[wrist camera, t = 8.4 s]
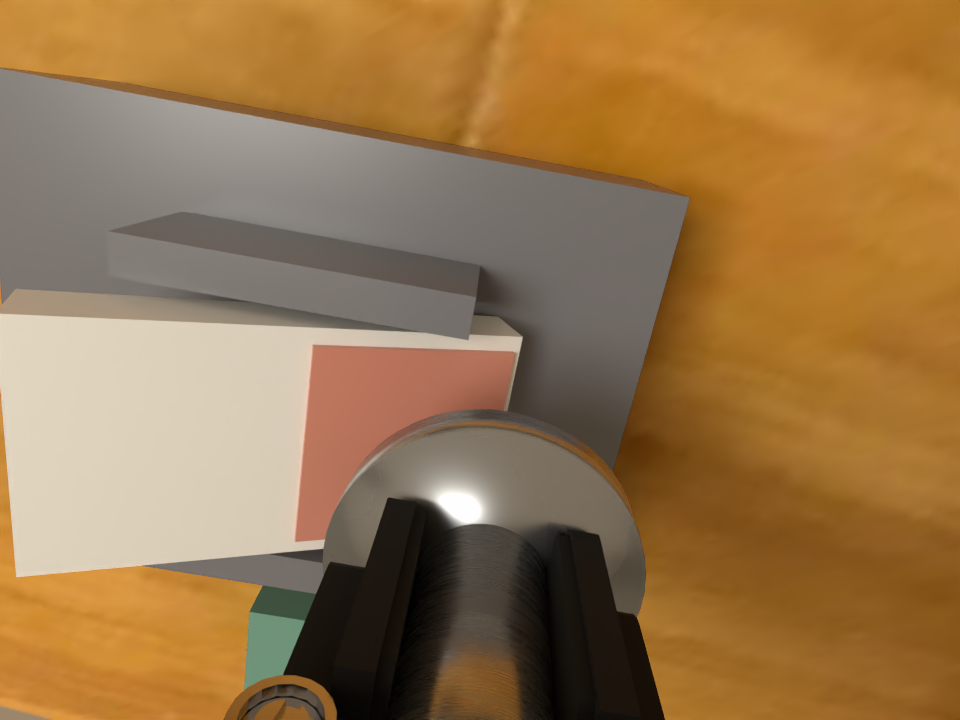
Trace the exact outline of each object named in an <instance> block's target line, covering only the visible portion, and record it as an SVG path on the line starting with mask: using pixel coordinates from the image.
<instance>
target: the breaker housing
mask: <svg viewBox="0 0 960 720" xmlns="http://www.w3.org/2000/svg"><path fill="white" fill-rule="evenodd" d="M689 199H690V197H687V196H684V195H681V194H679V193H676V192H673V191H670V190H668V189H665V188H662V187H659V186H657V185H654V184H651V183H648V182H645V181H643V180H639V179H633V178H628V177H623V176H617V175H612V174H607V173H601V172H596V171H591V170H585V169H580V168H575V167H569V166H564V165H559V164H553V163H548V162H543V161H537V160H532V159H527V158H521V157H516V156H511V155H505V154H500V153H495V152H489V151H484V150H479V149H473V148H468V147H463V146H457V145H452V144H447V143H441V142H436V141H431V140H425V139H420V138H415V137H409V136H404V135H399V134H393V133H388V132H383V131H378V130H372V129H367V128H362V127H356V126H351V125H346V124H340V123H335V122H330V121H324V120H319V119H314V118H308V117H303V116H298V115H292V114H287V113H282V112H276V111H271V110H266V109H260V108H255V107H250V106H244V105H239V104H234V103H228V102H223V101H218V100H212V99H207V98H202V97H196V96H191V95H186V94H180V93H175V92H170V91H164V90H159V89H154V88H148V87H143V86H138V85H132V84H127V83H122V82H116V81H107V80H99V79H91V78H83V77H75V76H66V75H58V74H50V73H42V72H34V71H26V70H17V69H9V68H1V67H0V285H1V298H2V304H3V303H4V302H5V300H6V299H7V298H8V297H9V296H10V295H11V293H12V292H13V291H14V290H15V289H29V290H46V291H63V292H80V293H98V294H115V295H132V296H150V297H167V298H184V299H202V300H219V301H236V302H254V303H261V304H267V305H272V306H278V307H283V308H289V309H295V310H300V311H306V312H312V313H317V314H323V315H329V316H334V317H340V318H346V319H351V320H357V321H362V322H368V323H374V324H379V325H385V326H391V327H396V328H402V329H408V330H413V331H419V332H425V333H430V334H436V335H442V336H447V337H453V338H458V339H464V340H469V335H470V329H471V324H472V318H473V315H479V316H496V317H499V318H501V319H502V320H503V321H504V322H505V323H507V324H508V325H509V326H510V327H511V328H513V329H514V330H515V331H516V332H517V333H519V334H520V335H521V336H522V337H523V339H522V343H521V348H520V353H519V358H518V362H517V367H516V372H515V377H514V381H513V386H512V391H511V396H510V400H509V405H508V410H507V411H508V412H515V413H519V414H523V415H527V416H531V417H535V418H537V419H540V420H542V421H545V422H548V423H550V424H553V425H555V426H557V427H559V428H561V429H562V430H564V431H566V432H568V433H570V434H572V435H573V436H575V437H576V438H577V439H579V440H580V441H582V442H583V443H584V444H586V445H587V446H589V447H590V448H591V449H592V450H593V451H594V452H595V453H596V454H597V455H598V456H599V457H600V458H601V459H603V461H604V462H605V463H606V464H607V465H608V467H609V468H610V469H611V470H612V472H613V469H614V465H615V462H616V458H617V455H618V451H619V448H620V444H621V440H622V437H623V433H624V430H625V426H626V423H627V419H628V416H629V412H630V409H631V405H632V401H633V398H634V394H635V391H636V387H637V384H638V380H639V377H640V373H641V370H642V366H643V362H644V359H645V355H646V352H647V348H648V345H649V341H650V338H651V334H652V331H653V327H654V323H655V320H656V316H657V313H658V309H659V306H660V302H661V299H662V295H663V292H664V288H665V284H666V281H667V277H668V274H669V270H670V267H671V263H672V260H673V256H674V253H675V249H676V245H677V242H678V238H679V235H680V231H681V228H682V224H683V221H684V217H685V214H686V210H687V206H688V203H689ZM142 566H147V567H153V568H159V569H165V570H171V571H178V572H184V573H190V574H196V575H202V576H209V577H215V578H221V579H227V580H233V581H239V582H246V583H252V584H258V585H264V586H270V587H276V588H283V589H289V590H295V591H301V592H307V593H313V594H316V593H317V590H318V588H319V586H320V583H321V581H322V578H323V576H324V573H323V549H315V550H304V551H293V552H282V553H272V554H261V555H250V556H239V557H228V558H218V559H207V560H196V561H185V562H174V563H164V564H153V565H142Z"/></svg>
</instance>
